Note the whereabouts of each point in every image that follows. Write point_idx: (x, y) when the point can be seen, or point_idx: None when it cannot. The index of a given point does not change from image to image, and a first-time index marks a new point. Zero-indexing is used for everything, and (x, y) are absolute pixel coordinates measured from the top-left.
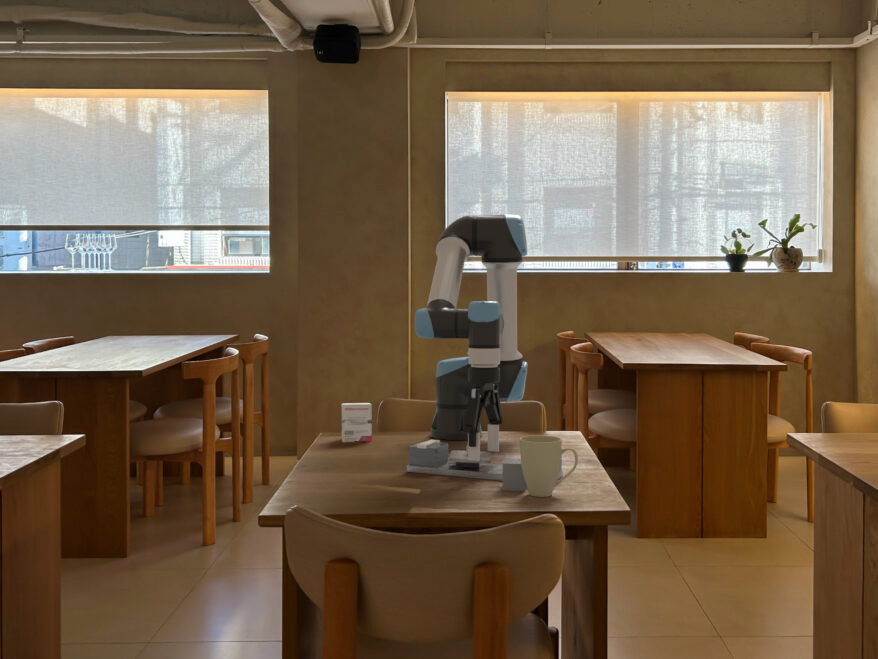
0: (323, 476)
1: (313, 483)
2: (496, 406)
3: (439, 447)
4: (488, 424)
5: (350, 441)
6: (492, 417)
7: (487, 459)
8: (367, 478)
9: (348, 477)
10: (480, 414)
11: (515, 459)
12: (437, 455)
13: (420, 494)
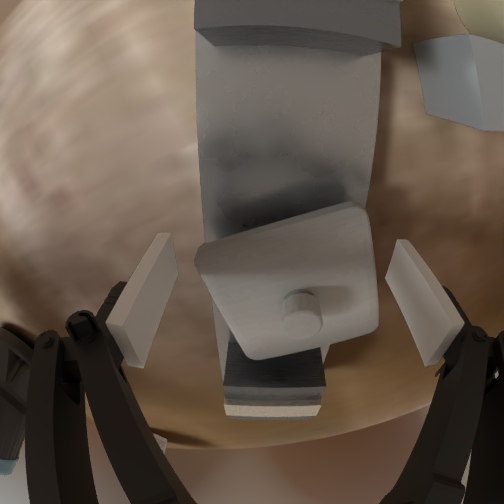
0: (371, 414)
1: (413, 402)
2: (63, 436)
3: (293, 385)
4: (137, 365)
5: (159, 440)
6: (127, 391)
7: (360, 219)
8: (383, 384)
9: (376, 399)
10: (478, 420)
11: (480, 81)
12: (306, 367)
13: (499, 276)
